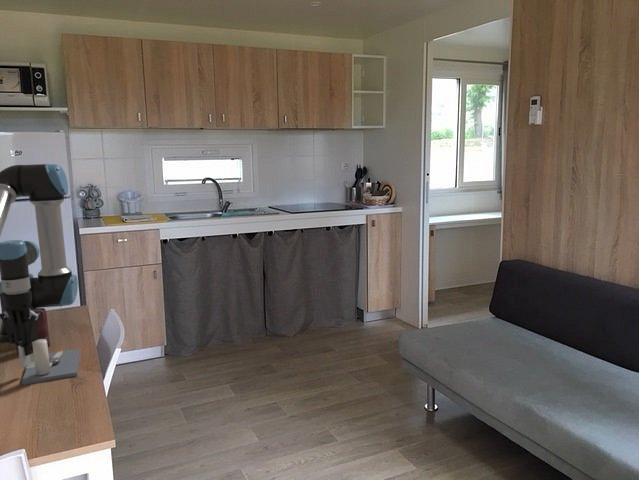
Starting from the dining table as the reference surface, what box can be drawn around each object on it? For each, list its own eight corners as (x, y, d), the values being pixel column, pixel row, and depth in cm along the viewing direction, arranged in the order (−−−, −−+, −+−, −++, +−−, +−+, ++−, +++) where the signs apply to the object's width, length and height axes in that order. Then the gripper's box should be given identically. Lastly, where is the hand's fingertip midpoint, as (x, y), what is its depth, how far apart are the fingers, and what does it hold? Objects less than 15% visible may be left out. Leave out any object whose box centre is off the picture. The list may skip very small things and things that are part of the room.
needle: (55, 352, 180) (52, 324, 178) (68, 352, 180) (65, 323, 178) (33, 375, 161) (29, 344, 160) (48, 374, 162) (44, 343, 160)
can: (42, 351, 186) (38, 312, 184) (27, 350, 187) (22, 312, 185) (54, 345, 192) (50, 307, 190) (39, 344, 193) (35, 307, 191)
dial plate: (30, 359, 179) (29, 355, 179) (79, 352, 184) (79, 348, 184) (21, 385, 159) (21, 380, 158) (77, 375, 164) (76, 372, 164)
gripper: (-12, 293, 159) (-2, 368, 163) (25, 295, 156) (34, 371, 160) (8, 287, 166) (17, 359, 170) (44, 288, 163) (52, 361, 167)
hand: (25, 364), depth 165 cm, fingers closed
